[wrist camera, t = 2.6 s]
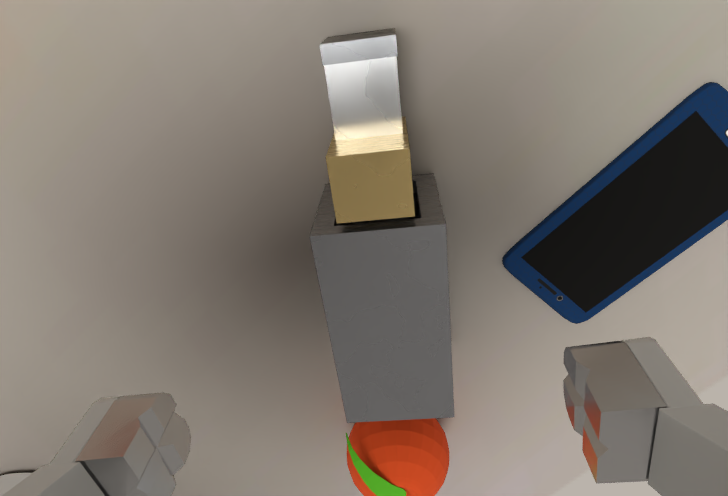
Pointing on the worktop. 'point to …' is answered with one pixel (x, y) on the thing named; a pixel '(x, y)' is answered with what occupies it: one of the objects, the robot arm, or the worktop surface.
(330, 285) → the sleeve
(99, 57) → the worktop surface
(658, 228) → the cell phone
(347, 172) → the gold-banded square post
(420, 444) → the clementine
